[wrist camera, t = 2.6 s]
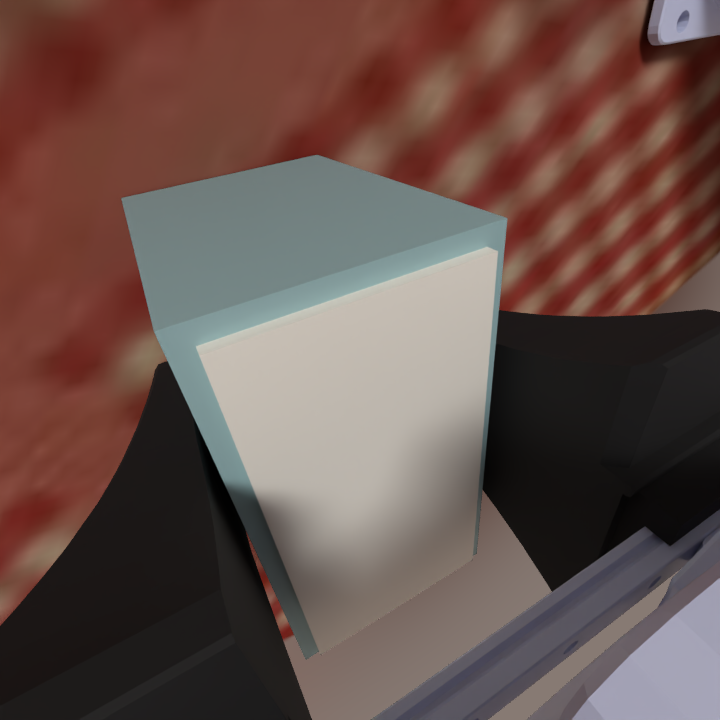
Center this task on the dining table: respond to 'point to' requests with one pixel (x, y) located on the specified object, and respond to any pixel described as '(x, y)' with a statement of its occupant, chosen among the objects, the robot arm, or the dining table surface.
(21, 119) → the dining table surface
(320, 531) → the boxed book
